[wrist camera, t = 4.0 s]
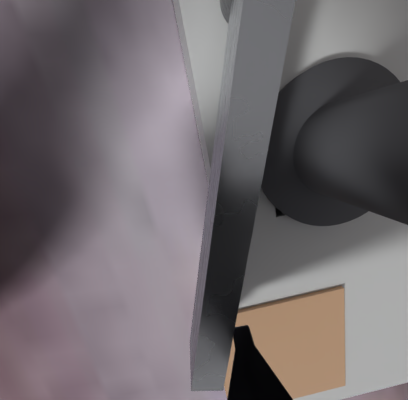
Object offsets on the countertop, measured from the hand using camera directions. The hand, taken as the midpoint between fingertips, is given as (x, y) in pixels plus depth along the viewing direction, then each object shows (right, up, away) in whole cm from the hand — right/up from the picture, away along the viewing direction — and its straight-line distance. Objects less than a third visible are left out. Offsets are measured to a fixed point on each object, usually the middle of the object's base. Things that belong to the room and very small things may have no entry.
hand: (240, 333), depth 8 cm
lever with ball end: (-1, +6, 0) cm, 6 cm away
